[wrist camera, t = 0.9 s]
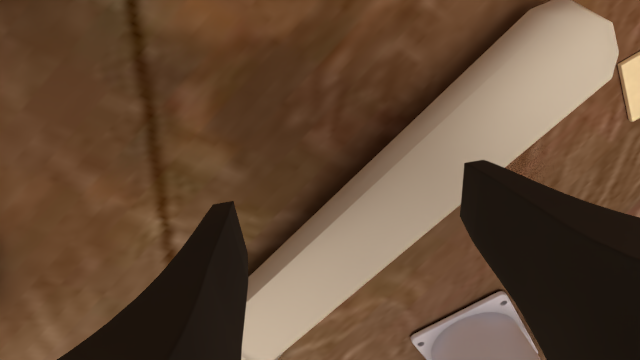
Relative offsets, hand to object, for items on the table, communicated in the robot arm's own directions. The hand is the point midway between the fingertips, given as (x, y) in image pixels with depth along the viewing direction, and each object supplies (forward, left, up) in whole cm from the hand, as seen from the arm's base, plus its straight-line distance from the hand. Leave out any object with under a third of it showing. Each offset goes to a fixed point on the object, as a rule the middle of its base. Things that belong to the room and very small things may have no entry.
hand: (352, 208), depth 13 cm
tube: (-6, -1, -10) cm, 12 cm away
